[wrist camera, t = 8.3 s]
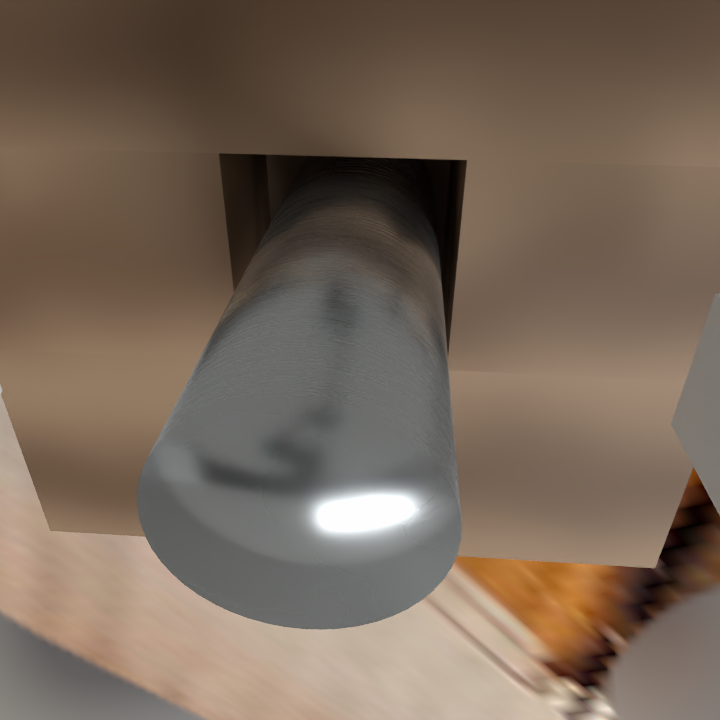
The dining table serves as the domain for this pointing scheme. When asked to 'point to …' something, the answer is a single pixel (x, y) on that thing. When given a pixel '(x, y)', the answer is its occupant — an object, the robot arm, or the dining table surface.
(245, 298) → the pin
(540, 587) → the dining table surface
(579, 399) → the walnut block
